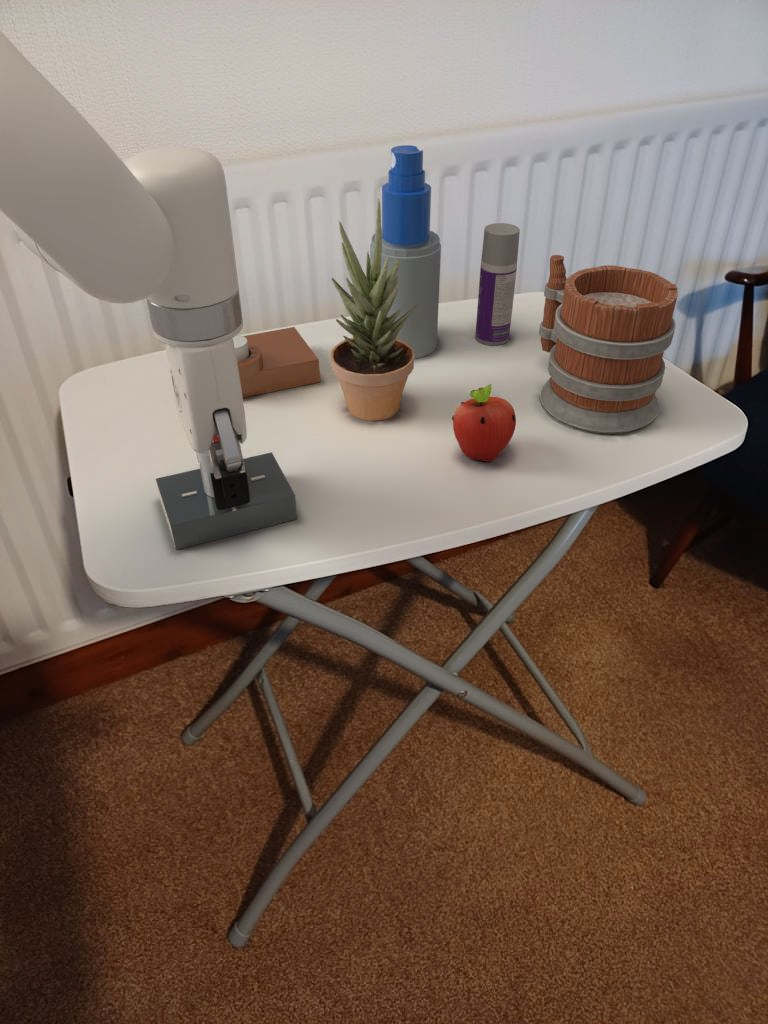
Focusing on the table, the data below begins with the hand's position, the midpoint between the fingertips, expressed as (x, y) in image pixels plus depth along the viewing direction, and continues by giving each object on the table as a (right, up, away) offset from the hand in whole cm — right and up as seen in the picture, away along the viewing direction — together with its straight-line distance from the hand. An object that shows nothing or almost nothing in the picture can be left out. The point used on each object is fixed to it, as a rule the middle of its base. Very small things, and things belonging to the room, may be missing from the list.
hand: (223, 481), depth 76 cm
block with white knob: (0, +15, +24) cm, 28 cm away
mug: (+40, +11, +20) cm, 46 cm away
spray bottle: (+18, +20, +31) cm, 41 cm away
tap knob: (0, 0, 0) cm, 1 cm away
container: (+31, +21, +32) cm, 49 cm away
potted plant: (+15, +9, +18) cm, 25 cm away
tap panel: (0, -3, +2) cm, 4 cm away
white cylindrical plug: (-2, +16, +18) cm, 24 cm away
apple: (+26, +3, +10) cm, 28 cm away
